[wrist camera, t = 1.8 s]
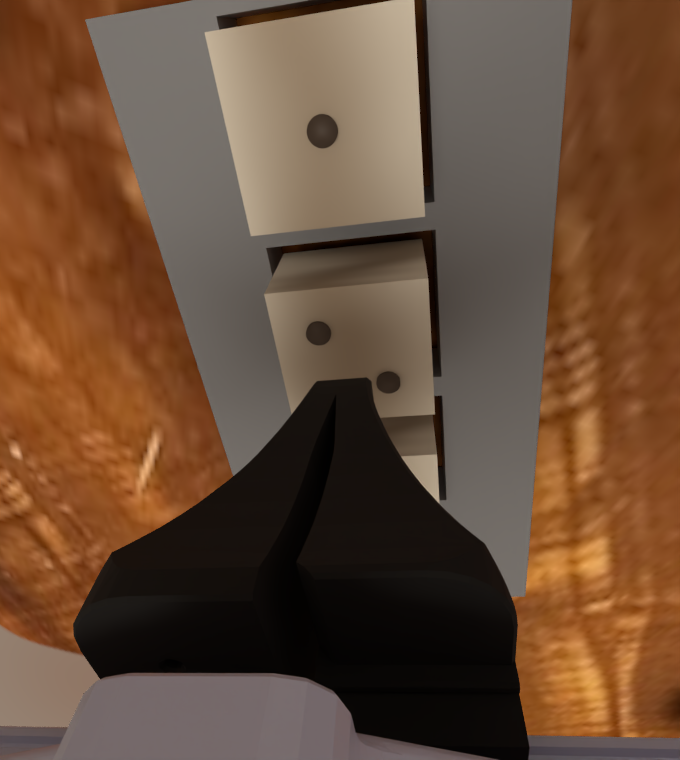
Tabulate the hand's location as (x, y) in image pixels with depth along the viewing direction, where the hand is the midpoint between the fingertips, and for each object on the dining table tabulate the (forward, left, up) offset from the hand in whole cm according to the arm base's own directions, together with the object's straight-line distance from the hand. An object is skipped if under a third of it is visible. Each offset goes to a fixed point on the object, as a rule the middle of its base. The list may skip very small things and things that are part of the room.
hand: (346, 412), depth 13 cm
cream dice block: (0, 0, -6) cm, 6 cm away
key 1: (0, -6, -6) cm, 8 cm away
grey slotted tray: (0, +3, -7) cm, 8 cm away
